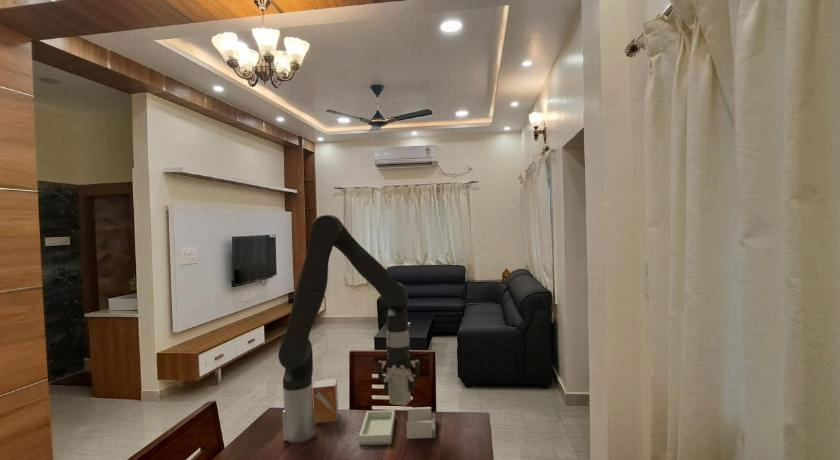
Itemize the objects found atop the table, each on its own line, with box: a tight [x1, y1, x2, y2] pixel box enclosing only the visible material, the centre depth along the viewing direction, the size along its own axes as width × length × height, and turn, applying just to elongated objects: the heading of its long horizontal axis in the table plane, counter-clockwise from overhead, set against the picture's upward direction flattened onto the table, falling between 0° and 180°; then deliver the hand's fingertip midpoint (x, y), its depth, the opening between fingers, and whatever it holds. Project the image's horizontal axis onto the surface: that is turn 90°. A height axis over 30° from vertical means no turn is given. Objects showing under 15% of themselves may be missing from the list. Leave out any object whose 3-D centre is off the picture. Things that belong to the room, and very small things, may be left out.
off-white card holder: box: [406, 406, 437, 440], centre depth 130 cm, size 9×10×5 cm
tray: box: [358, 409, 396, 446], centre depth 131 cm, size 10×16×3 cm, turn 179°
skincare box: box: [386, 366, 412, 407], centre depth 130 cm, size 6×4×12 cm
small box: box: [312, 378, 339, 424], centre depth 141 cm, size 8×6×13 cm
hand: (399, 391), depth 130 cm, fingers closed on skincare box, 7 cm apart
